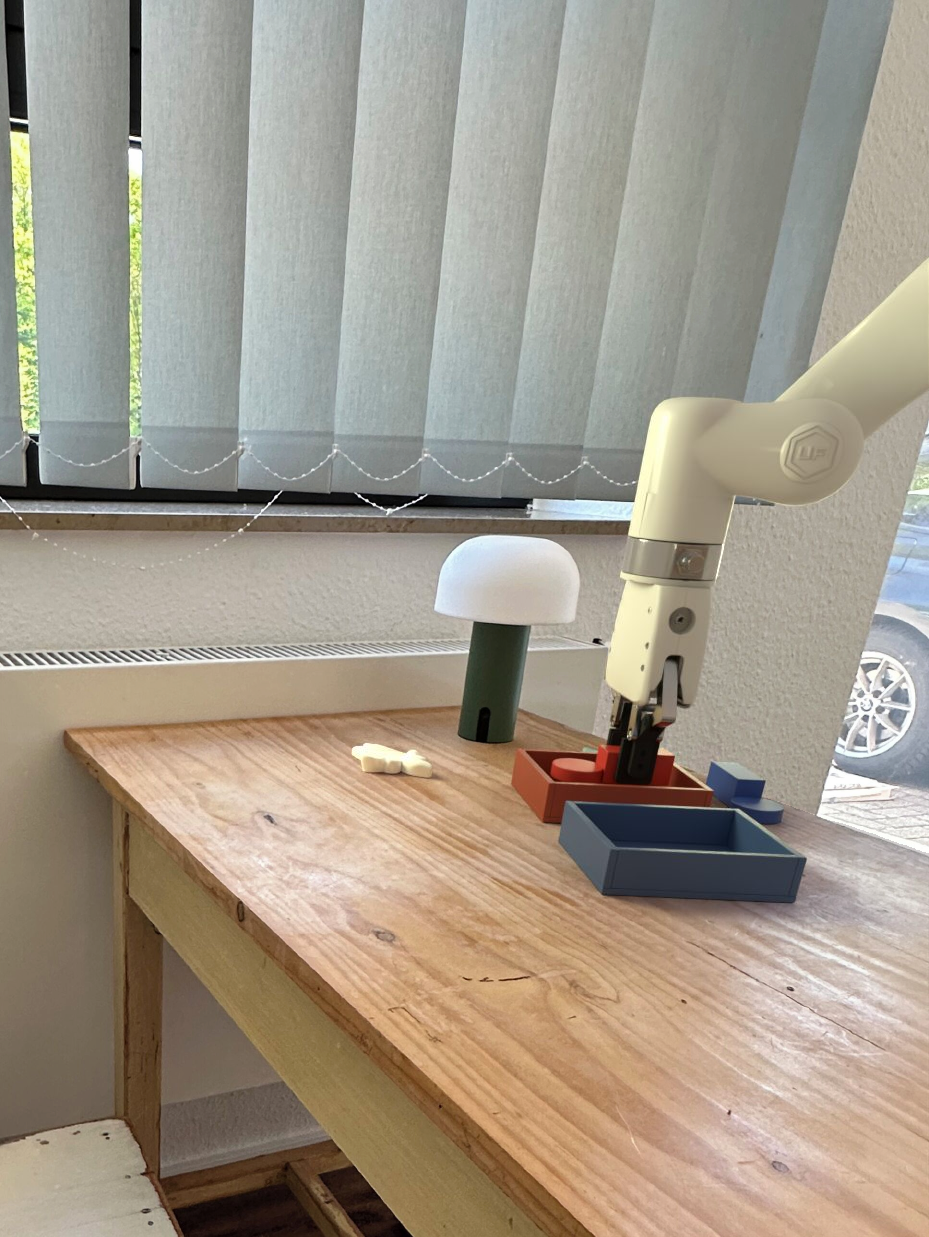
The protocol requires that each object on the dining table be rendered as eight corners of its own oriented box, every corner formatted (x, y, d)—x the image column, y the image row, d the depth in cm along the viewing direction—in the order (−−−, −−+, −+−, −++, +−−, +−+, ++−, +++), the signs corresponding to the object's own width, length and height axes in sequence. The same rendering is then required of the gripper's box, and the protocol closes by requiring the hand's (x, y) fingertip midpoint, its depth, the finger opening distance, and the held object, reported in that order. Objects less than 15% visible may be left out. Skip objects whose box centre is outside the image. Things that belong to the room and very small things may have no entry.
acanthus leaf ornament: (431, 779, 102) (434, 760, 102) (360, 776, 102) (362, 757, 101) (418, 757, 109) (420, 739, 108) (351, 754, 109) (352, 736, 108)
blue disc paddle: (695, 788, 104) (701, 760, 103) (739, 790, 104) (746, 762, 103) (741, 822, 94) (748, 792, 93) (790, 825, 95) (798, 794, 93)
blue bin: (728, 849, 88) (739, 808, 86) (794, 903, 78) (807, 858, 76) (557, 841, 87) (565, 800, 86) (601, 894, 77) (610, 849, 76)
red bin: (657, 790, 102) (665, 755, 101) (705, 829, 92) (714, 790, 91) (510, 784, 102) (516, 748, 100) (542, 822, 92) (549, 783, 90)
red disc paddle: (654, 775, 98) (660, 745, 97) (672, 789, 94) (679, 758, 93) (544, 769, 98) (549, 739, 97) (558, 783, 94) (563, 752, 93)
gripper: (759, 577, 81) (702, 808, 89) (677, 556, 96) (635, 755, 103) (661, 572, 81) (613, 804, 88) (595, 551, 96) (558, 751, 103)
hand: (625, 776), depth 96 cm, fingers closed on red disc paddle, 2 cm apart
